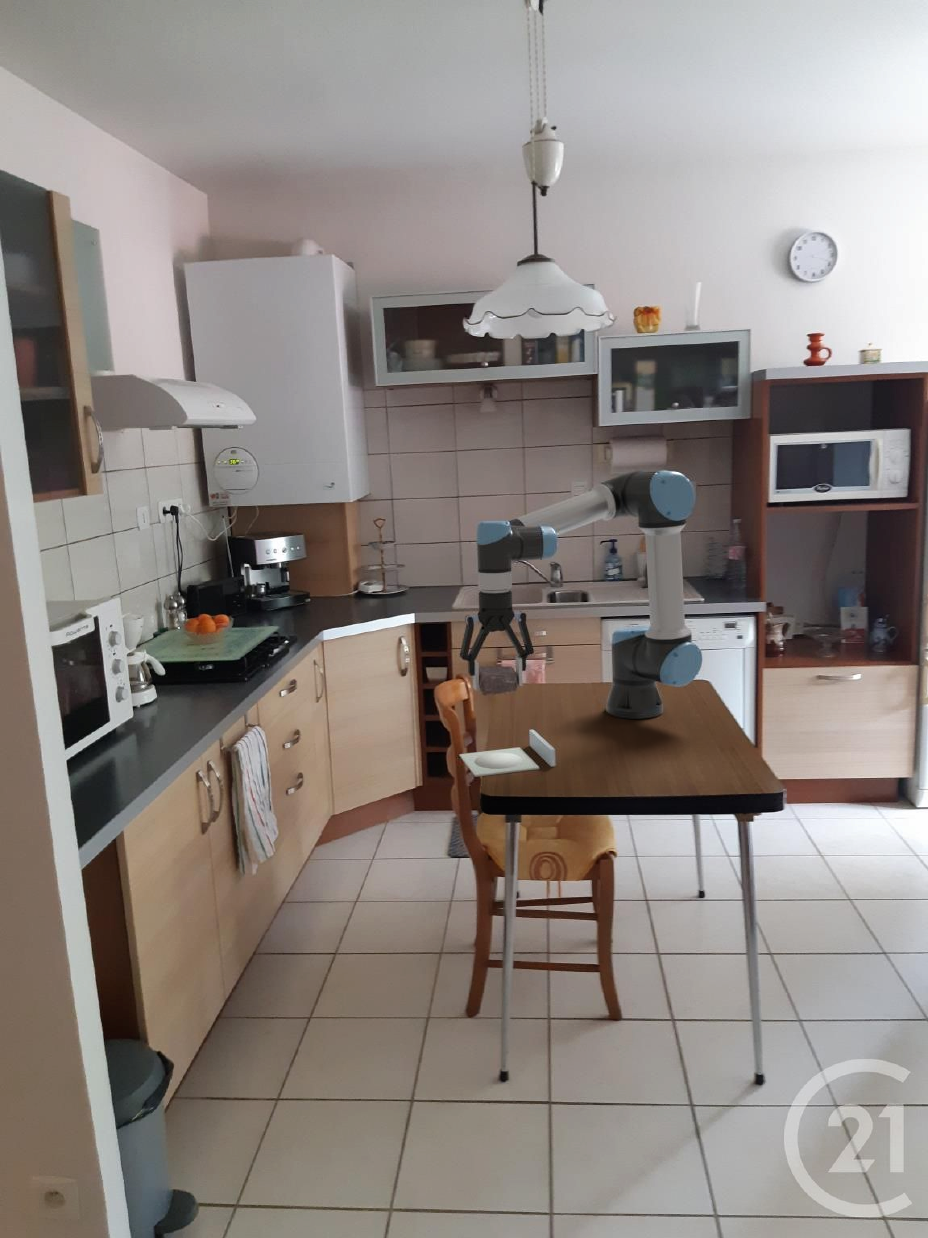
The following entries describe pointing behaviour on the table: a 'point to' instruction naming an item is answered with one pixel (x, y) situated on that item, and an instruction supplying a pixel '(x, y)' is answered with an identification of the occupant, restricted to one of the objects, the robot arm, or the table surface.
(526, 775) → the table surface
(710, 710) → the table surface
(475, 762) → the rest mat
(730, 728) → the table surface
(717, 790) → the table surface
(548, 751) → the acrylic wall
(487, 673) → the stone
